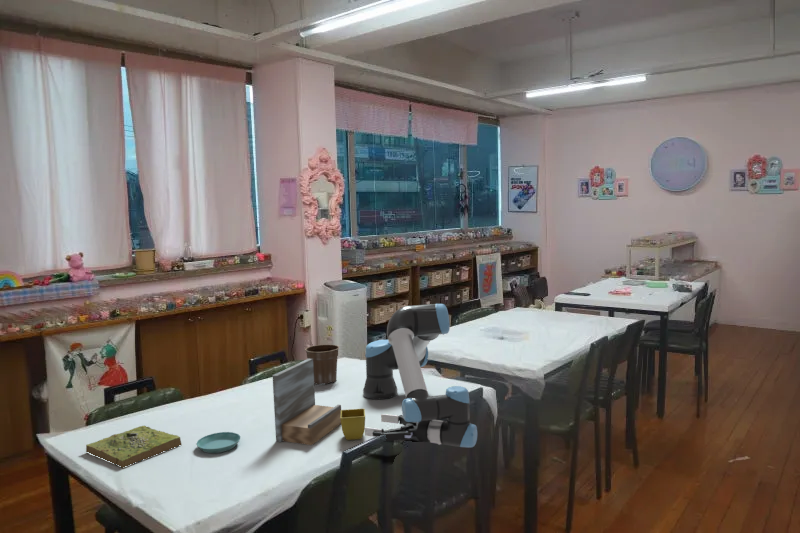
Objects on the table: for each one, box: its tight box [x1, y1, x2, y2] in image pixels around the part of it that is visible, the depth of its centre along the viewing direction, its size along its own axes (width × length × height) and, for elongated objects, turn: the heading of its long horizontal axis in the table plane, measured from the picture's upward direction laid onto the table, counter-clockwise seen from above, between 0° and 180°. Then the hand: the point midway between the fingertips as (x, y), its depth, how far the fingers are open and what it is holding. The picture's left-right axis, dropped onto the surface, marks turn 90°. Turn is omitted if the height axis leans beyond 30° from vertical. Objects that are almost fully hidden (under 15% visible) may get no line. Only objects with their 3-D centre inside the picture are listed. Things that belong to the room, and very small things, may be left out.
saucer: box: [195, 431, 241, 454], centre depth 203 cm, size 15×15×3 cm
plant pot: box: [304, 344, 340, 385], centre depth 278 cm, size 16×16×16 cm
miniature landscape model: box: [85, 425, 182, 467], centre depth 204 cm, size 22×24×5 cm
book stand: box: [271, 358, 342, 446], centre depth 214 cm, size 14×24×24 cm, turn 157°
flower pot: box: [340, 408, 366, 441], centre depth 207 cm, size 9×9×9 cm
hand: (373, 424), depth 204 cm, fingers open, 13 cm apart
